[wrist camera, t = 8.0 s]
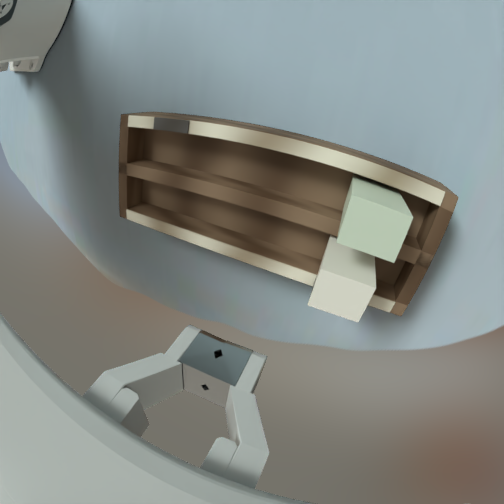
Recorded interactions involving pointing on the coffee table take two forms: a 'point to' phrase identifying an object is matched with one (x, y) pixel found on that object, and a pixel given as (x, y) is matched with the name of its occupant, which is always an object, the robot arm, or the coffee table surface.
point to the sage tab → (374, 219)
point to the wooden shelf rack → (268, 196)
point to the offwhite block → (344, 281)
